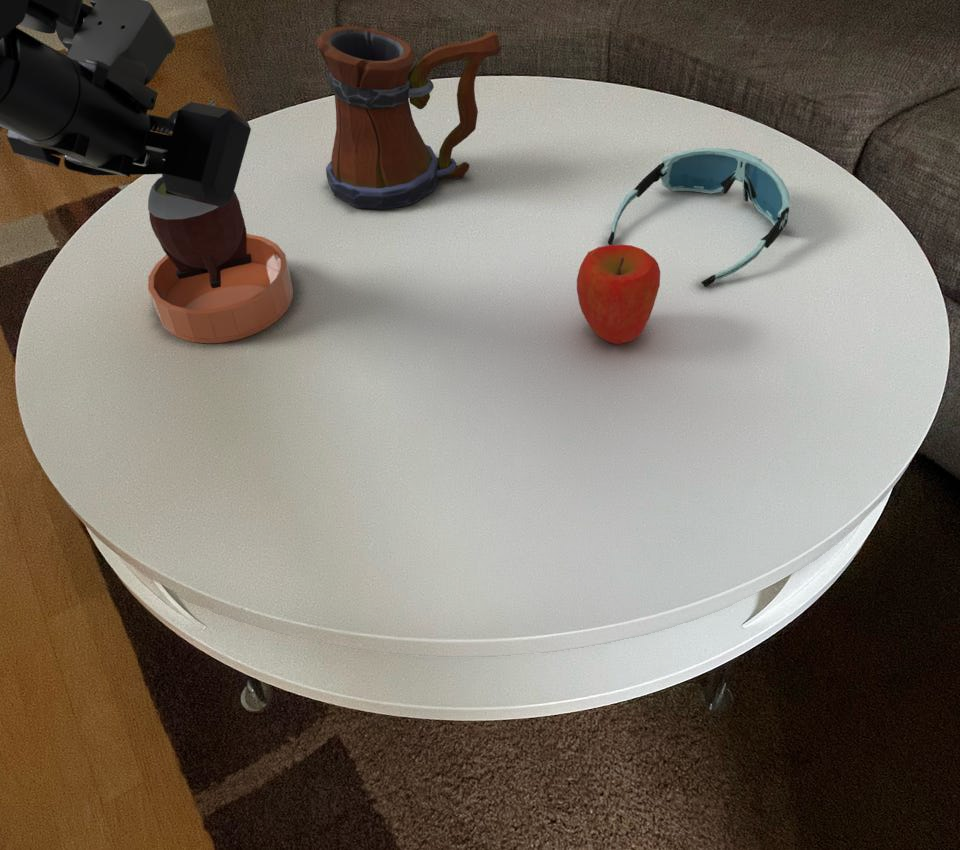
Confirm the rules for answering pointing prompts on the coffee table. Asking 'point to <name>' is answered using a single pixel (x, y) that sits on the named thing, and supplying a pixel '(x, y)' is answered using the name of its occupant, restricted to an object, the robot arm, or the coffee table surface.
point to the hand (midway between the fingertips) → (199, 173)
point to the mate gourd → (198, 233)
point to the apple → (618, 291)
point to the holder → (224, 296)
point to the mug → (392, 115)
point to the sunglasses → (721, 188)
